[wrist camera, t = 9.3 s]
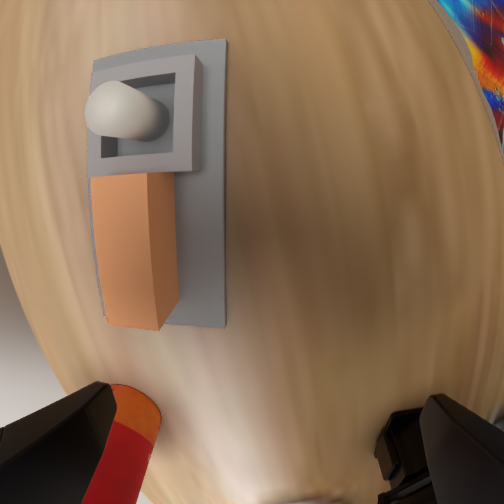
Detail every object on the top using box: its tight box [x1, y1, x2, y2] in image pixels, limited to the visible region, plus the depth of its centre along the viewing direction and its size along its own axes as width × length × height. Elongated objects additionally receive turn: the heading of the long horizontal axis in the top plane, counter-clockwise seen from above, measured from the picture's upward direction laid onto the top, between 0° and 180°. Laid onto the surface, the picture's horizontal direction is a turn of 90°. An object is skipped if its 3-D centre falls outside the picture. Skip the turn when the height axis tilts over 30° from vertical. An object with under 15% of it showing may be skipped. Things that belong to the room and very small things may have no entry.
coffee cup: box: [82, 384, 161, 504], centre depth 16 cm, size 8×8×15 cm
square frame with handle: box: [87, 54, 204, 331], centre depth 15 cm, size 14×6×4 cm, turn 179°
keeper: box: [85, 39, 227, 328], centre depth 15 cm, size 9×18×6 cm, turn 179°
